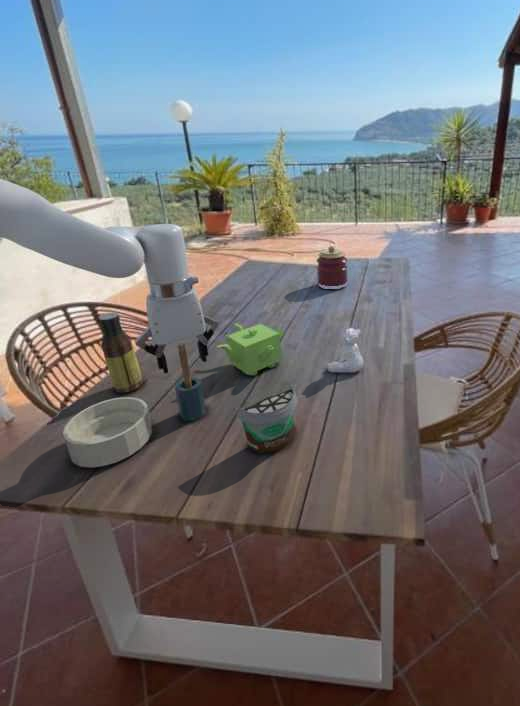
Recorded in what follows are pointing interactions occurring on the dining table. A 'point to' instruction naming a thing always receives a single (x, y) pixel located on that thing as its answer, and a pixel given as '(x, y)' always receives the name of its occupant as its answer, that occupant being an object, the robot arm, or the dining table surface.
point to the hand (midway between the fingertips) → (184, 364)
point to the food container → (269, 422)
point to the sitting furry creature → (348, 354)
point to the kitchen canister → (332, 267)
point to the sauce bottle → (119, 355)
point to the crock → (190, 400)
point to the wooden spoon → (184, 365)
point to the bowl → (108, 432)
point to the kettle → (253, 348)
